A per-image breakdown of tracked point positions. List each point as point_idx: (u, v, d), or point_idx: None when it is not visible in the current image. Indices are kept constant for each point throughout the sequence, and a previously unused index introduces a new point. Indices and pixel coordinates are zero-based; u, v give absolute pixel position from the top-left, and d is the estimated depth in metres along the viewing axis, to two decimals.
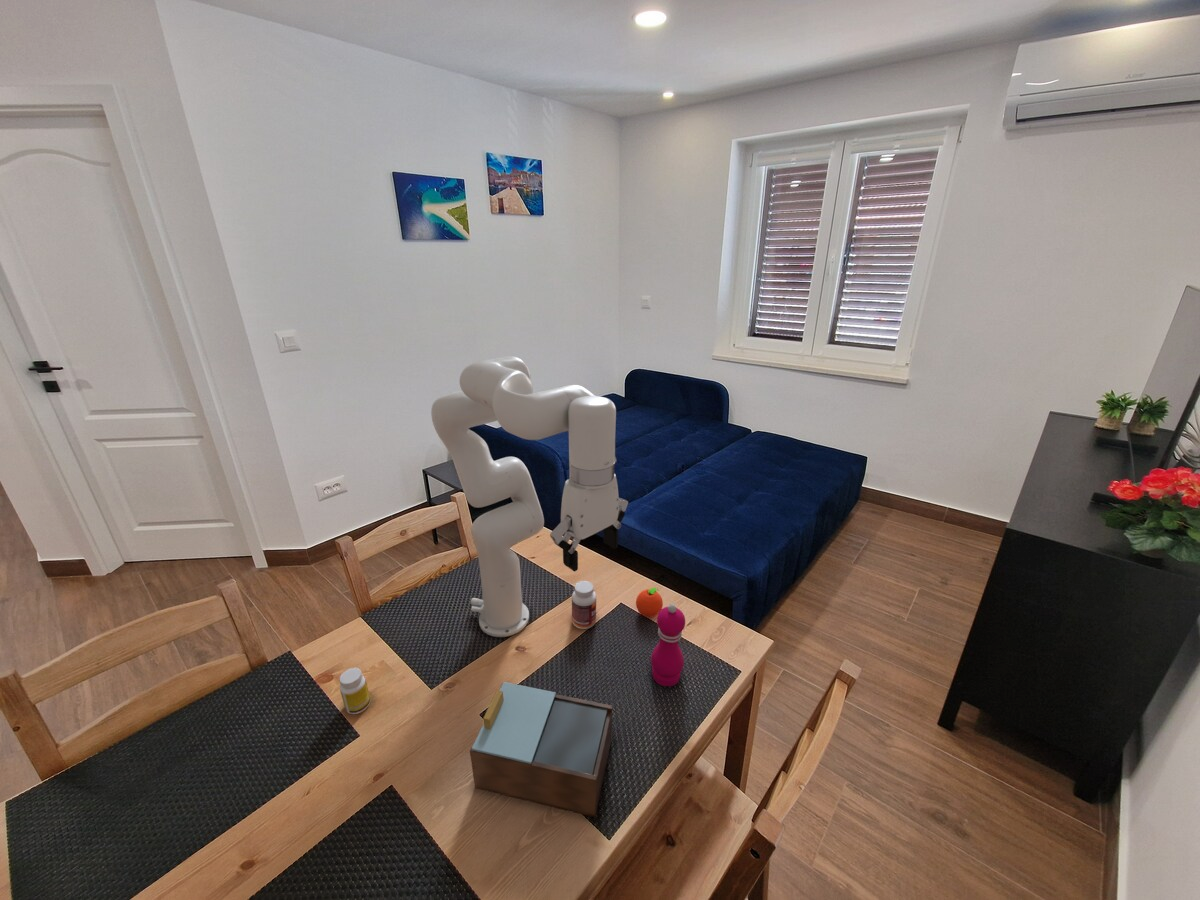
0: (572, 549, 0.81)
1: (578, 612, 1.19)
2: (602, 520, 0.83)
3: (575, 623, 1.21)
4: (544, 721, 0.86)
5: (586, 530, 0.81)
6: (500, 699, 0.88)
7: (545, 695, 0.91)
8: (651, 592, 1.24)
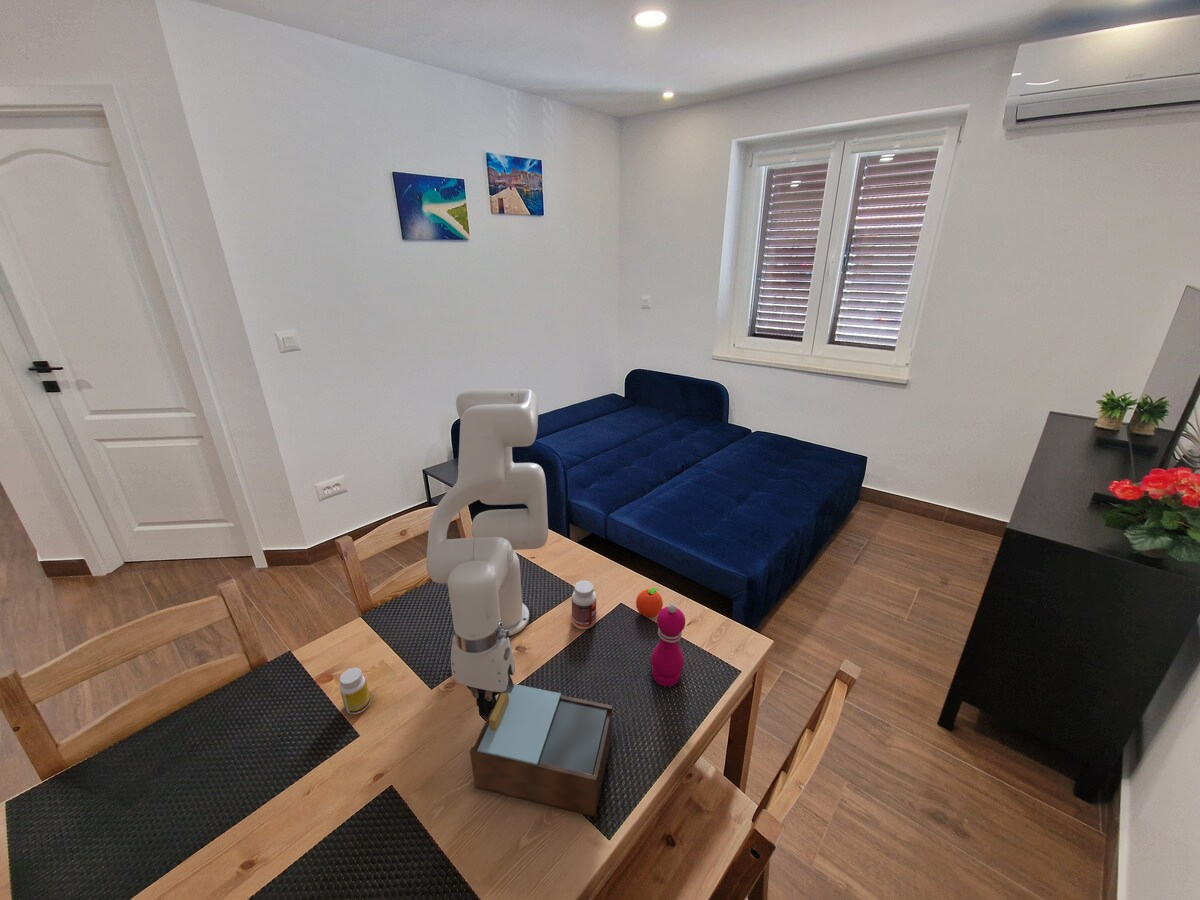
0: (476, 695, 0.85)
1: (578, 612, 1.19)
2: (479, 681, 0.82)
3: (575, 623, 1.21)
4: (550, 723, 0.86)
5: (460, 678, 0.83)
6: (505, 700, 0.88)
7: (550, 696, 0.91)
8: (651, 592, 1.24)
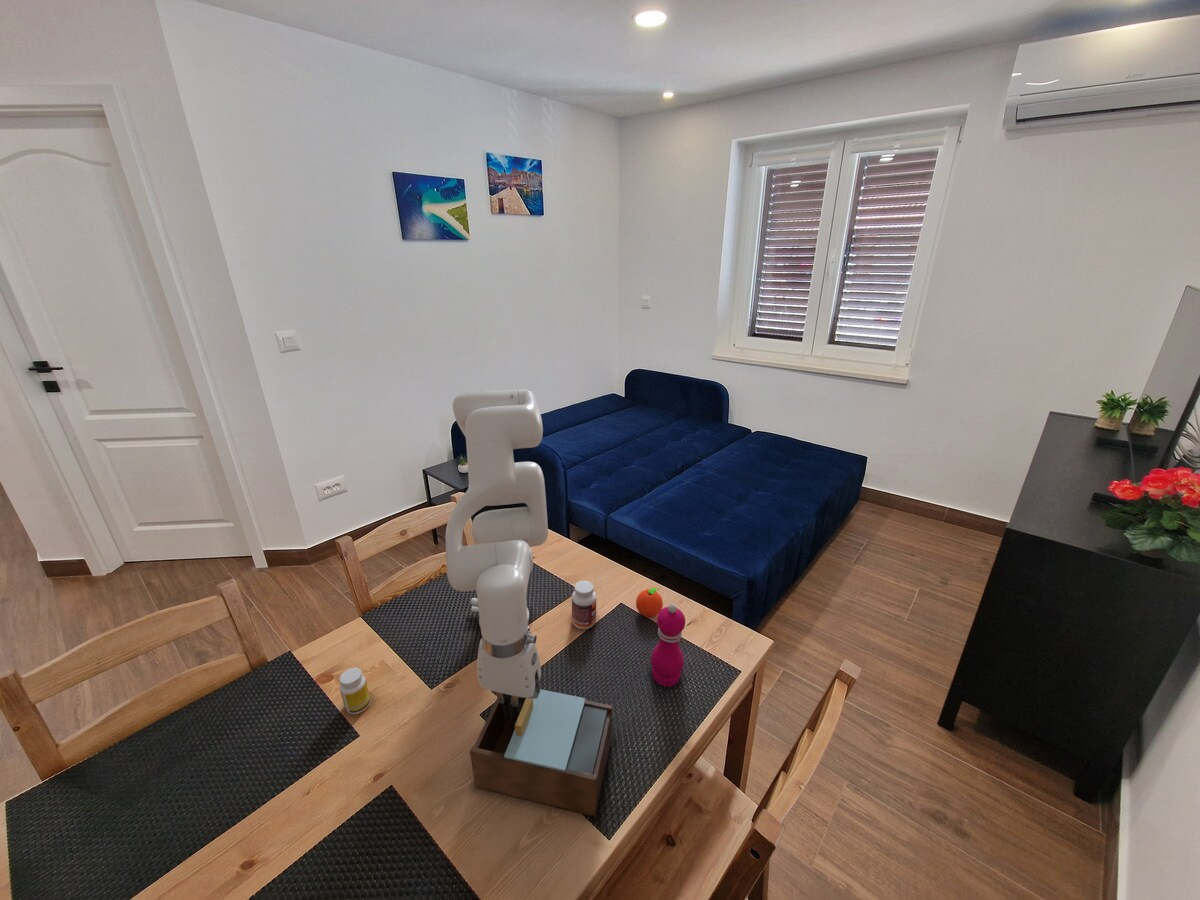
0: (502, 700, 0.84)
1: (578, 612, 1.19)
2: (505, 686, 0.81)
3: (575, 623, 1.21)
4: (576, 728, 0.85)
5: (486, 684, 0.82)
6: (530, 705, 0.87)
7: (575, 701, 0.90)
8: (651, 592, 1.24)
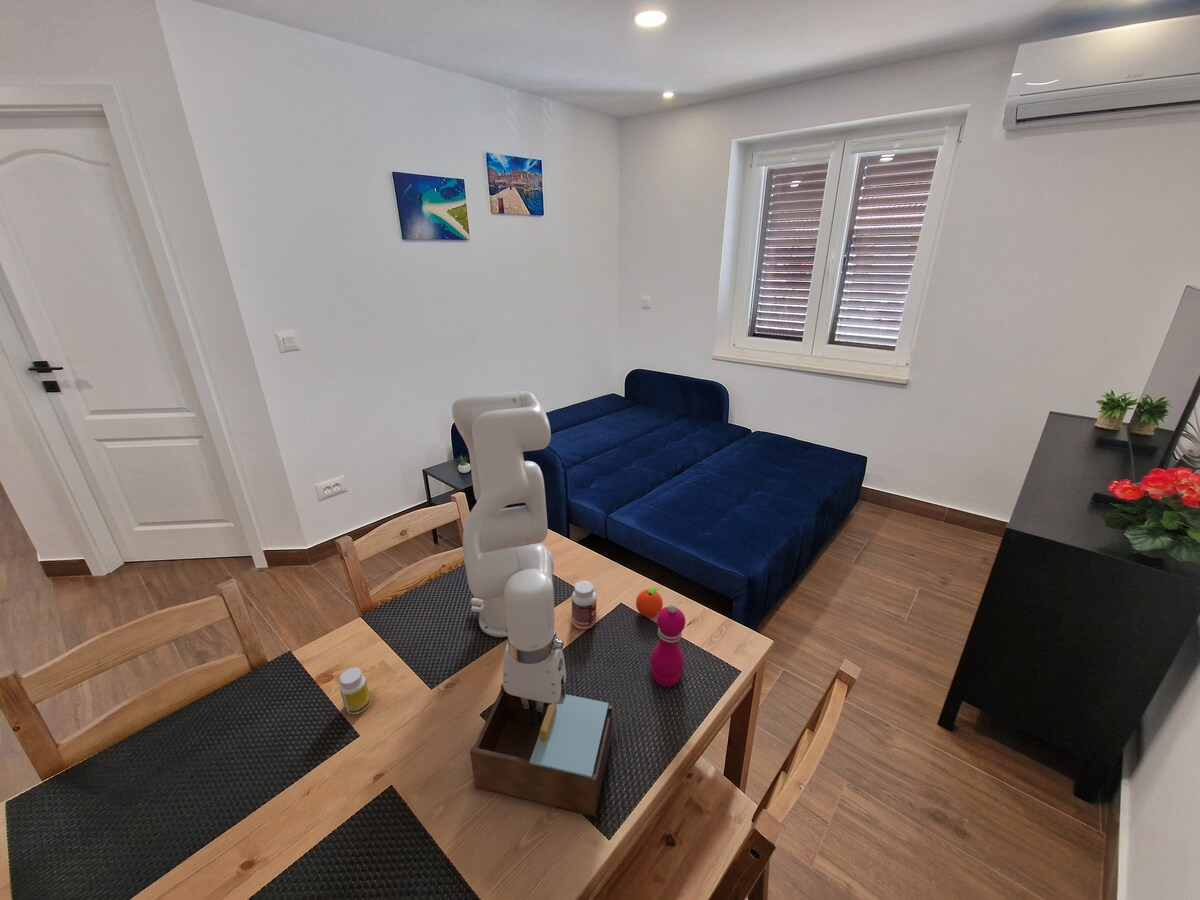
0: (526, 705, 0.83)
1: (578, 612, 1.19)
2: (531, 692, 0.80)
3: (575, 623, 1.21)
4: (601, 733, 0.85)
5: (512, 689, 0.81)
6: (554, 710, 0.86)
7: (598, 706, 0.90)
8: (651, 592, 1.24)
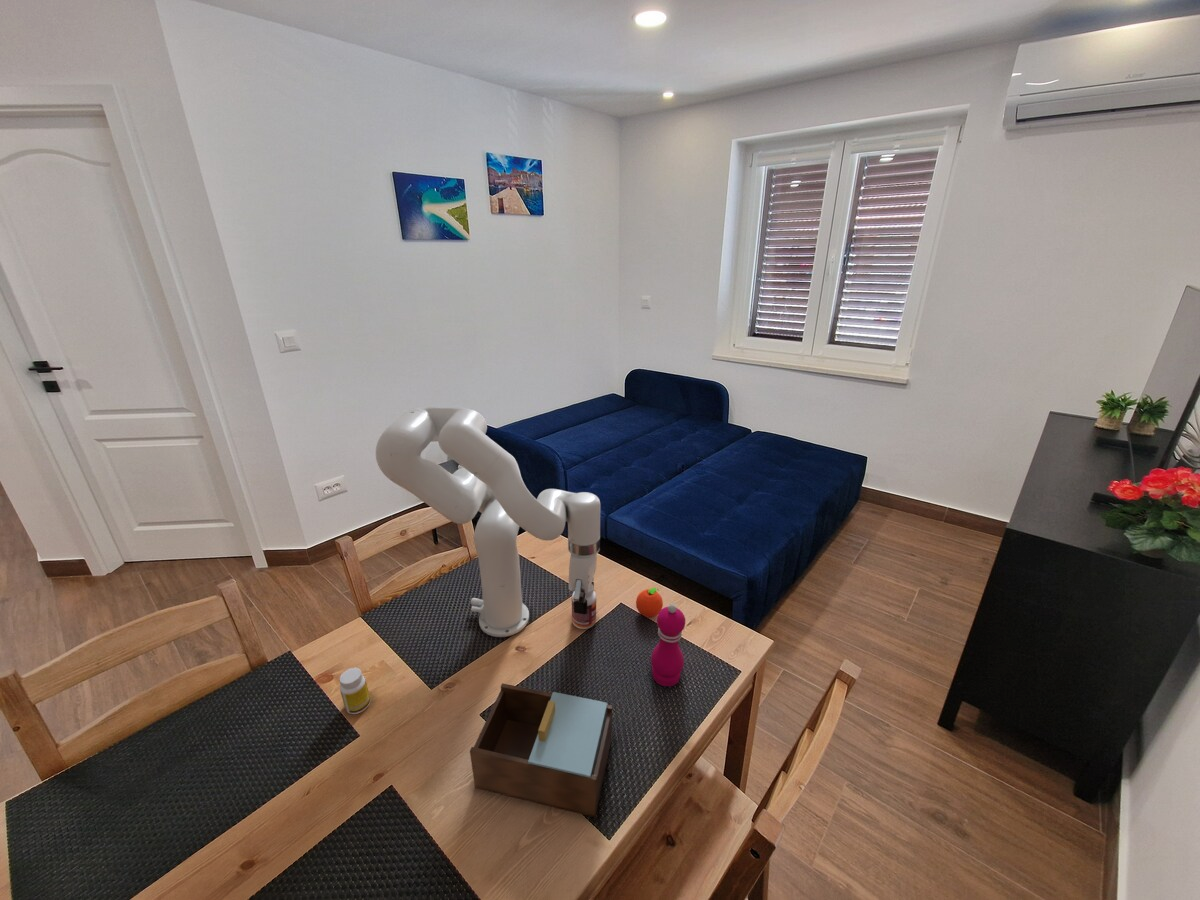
0: (585, 600, 1.16)
1: None
2: (593, 573, 1.18)
3: (575, 623, 1.21)
4: (599, 733, 0.85)
5: (589, 584, 1.15)
6: (553, 710, 0.87)
7: (597, 705, 0.90)
8: (651, 592, 1.24)
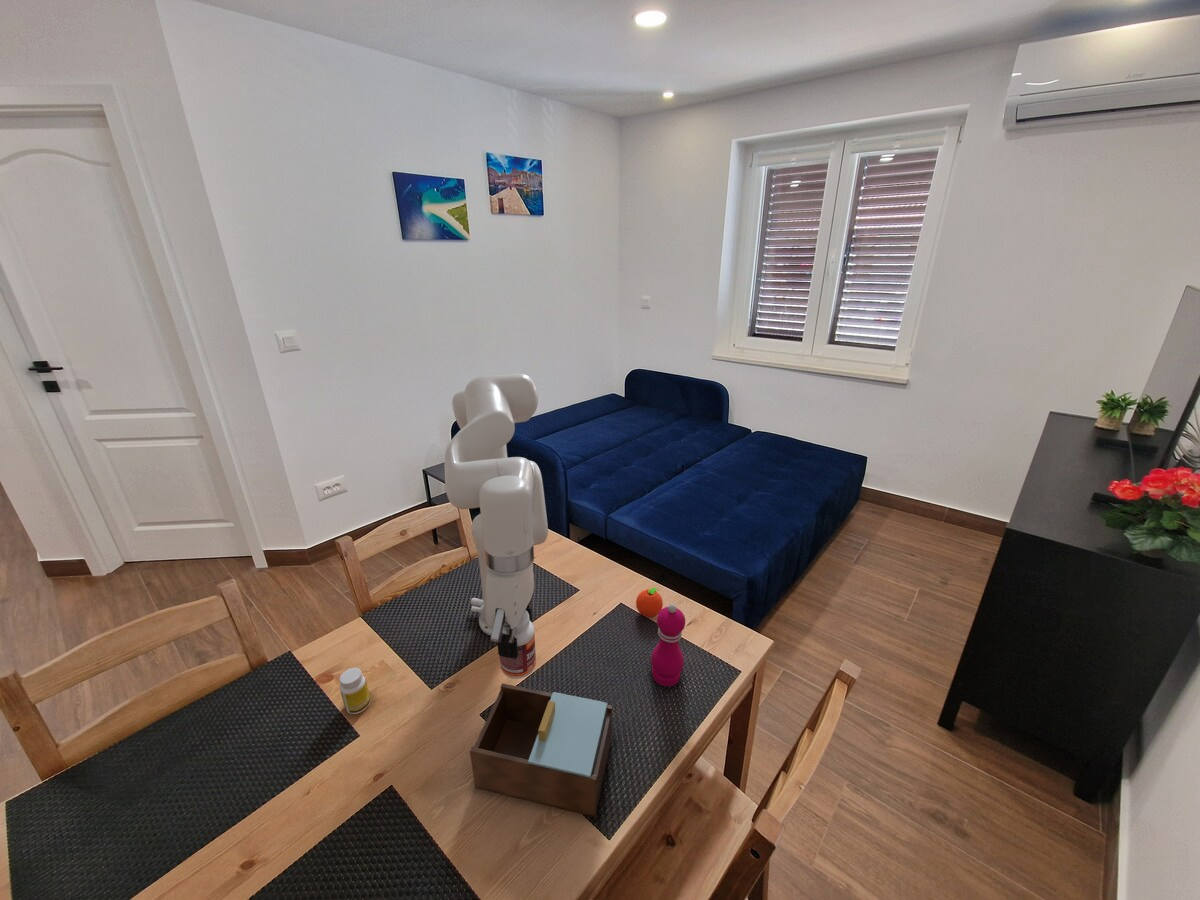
0: (512, 638, 0.77)
1: None
2: (527, 598, 0.79)
3: (503, 670, 0.82)
4: (599, 733, 0.85)
5: (518, 615, 0.76)
6: (553, 710, 0.87)
7: (597, 705, 0.90)
8: (651, 592, 1.24)
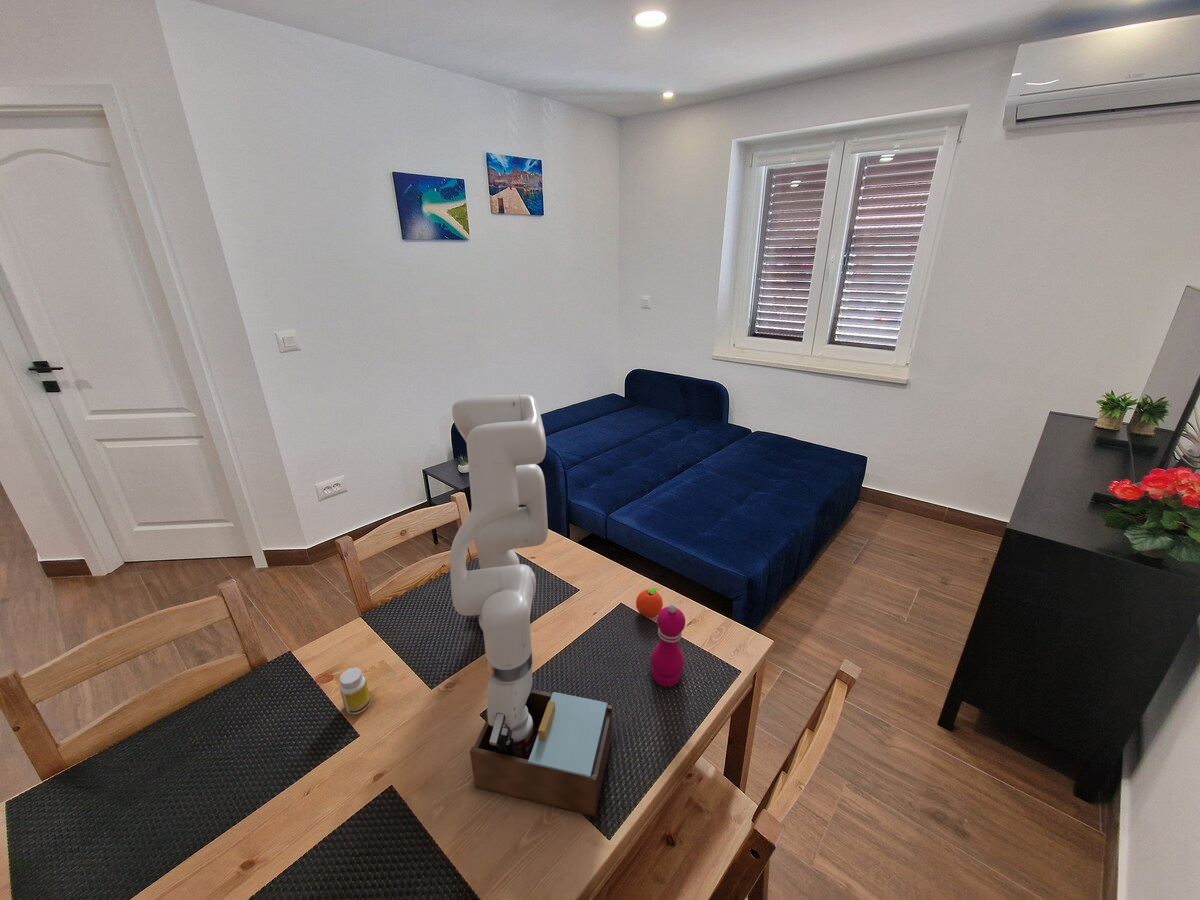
0: (509, 740, 0.81)
1: None
2: (526, 696, 0.85)
3: None
4: (599, 733, 0.85)
5: (518, 716, 0.82)
6: (553, 710, 0.87)
7: (597, 705, 0.90)
8: (651, 592, 1.24)
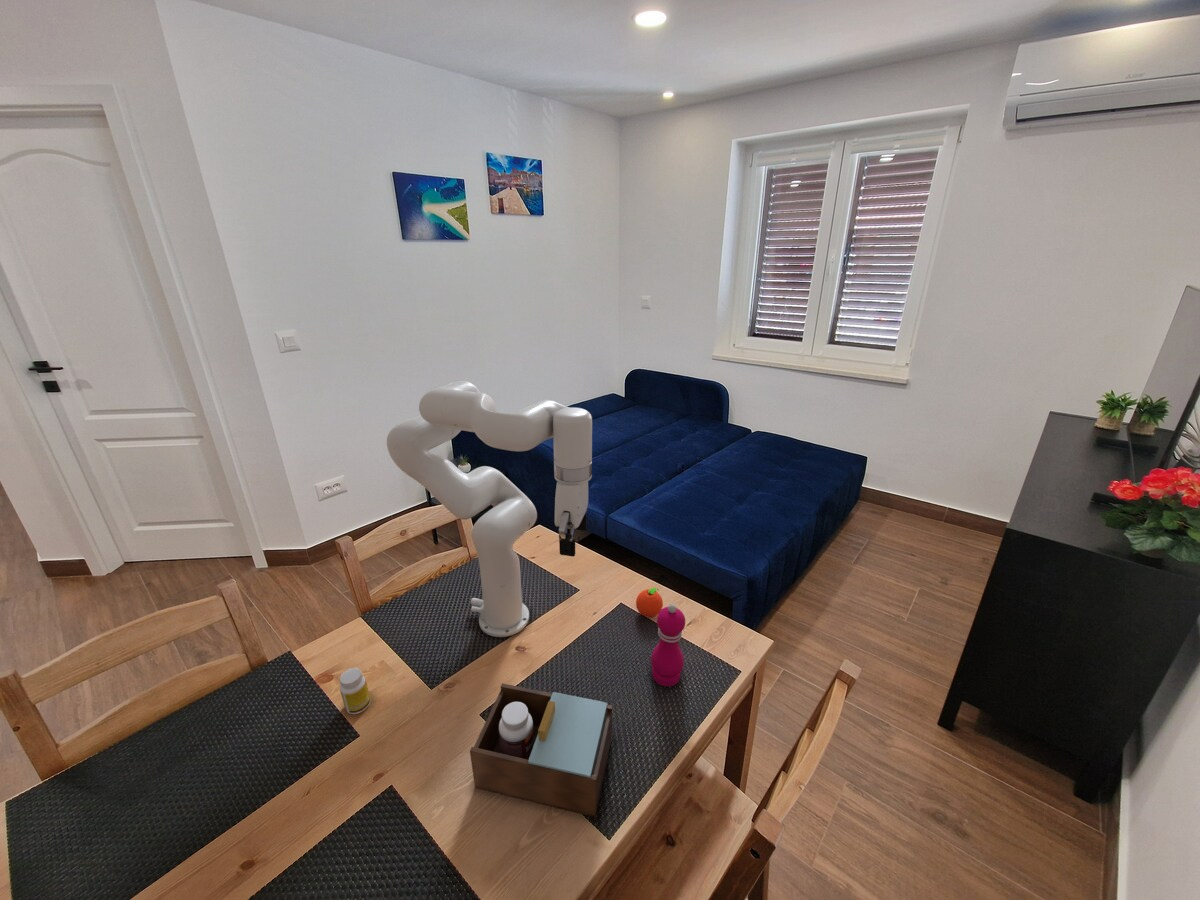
0: (572, 538, 0.96)
1: (506, 749, 0.86)
2: (584, 507, 1.00)
3: None
4: (599, 733, 0.85)
5: (579, 518, 0.97)
6: (553, 710, 0.87)
7: (597, 705, 0.90)
8: (651, 592, 1.24)
